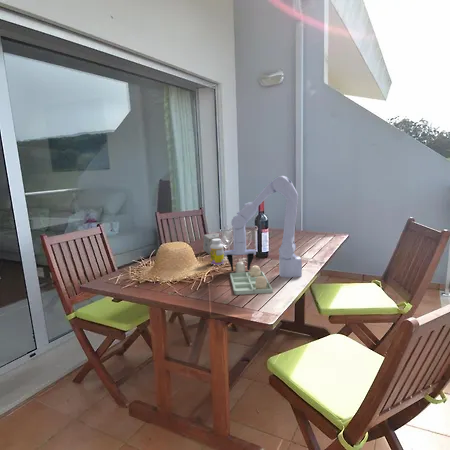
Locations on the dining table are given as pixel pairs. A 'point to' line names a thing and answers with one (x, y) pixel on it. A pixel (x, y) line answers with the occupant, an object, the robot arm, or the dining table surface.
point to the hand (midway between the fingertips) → (240, 270)
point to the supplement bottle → (216, 252)
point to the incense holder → (209, 241)
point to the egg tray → (247, 284)
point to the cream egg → (240, 267)
